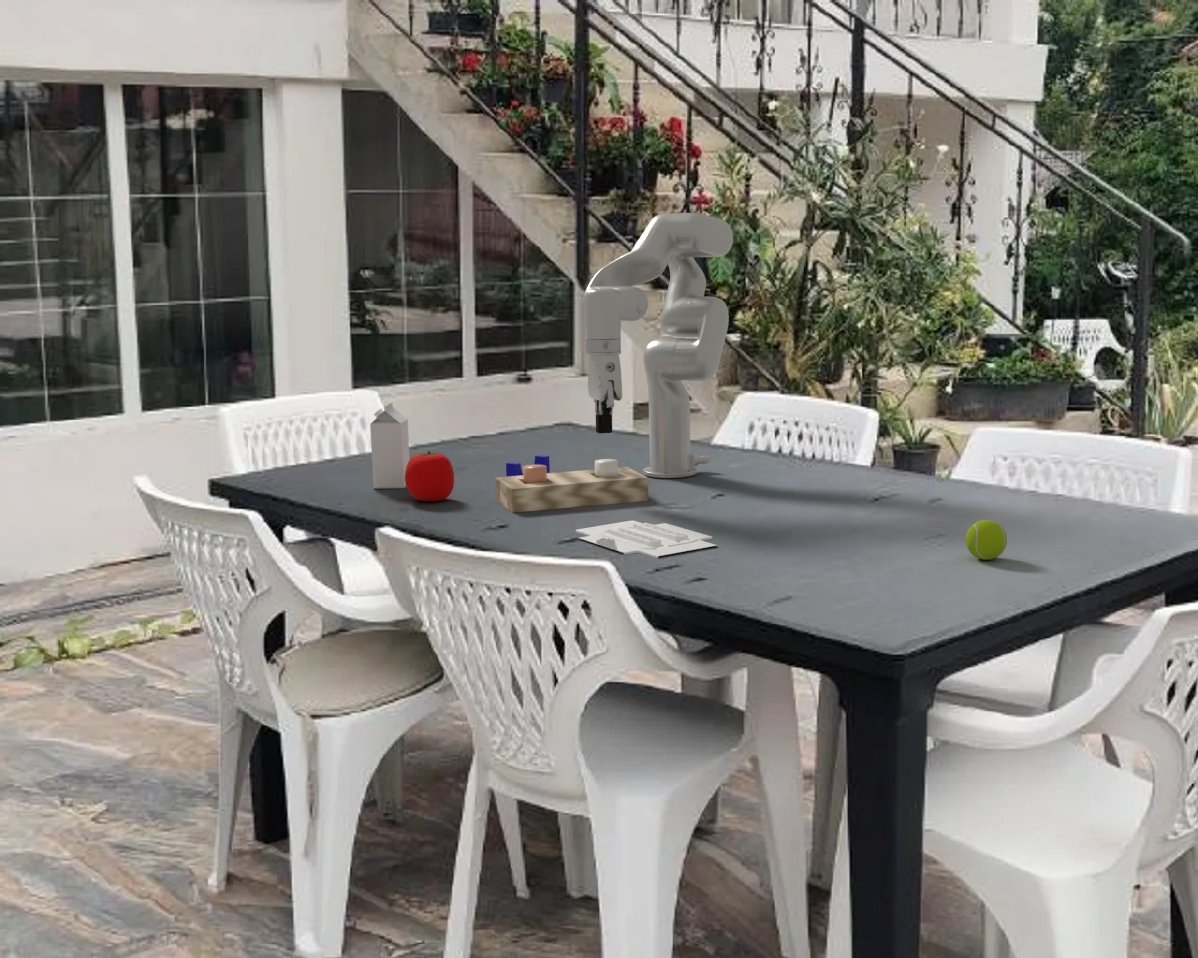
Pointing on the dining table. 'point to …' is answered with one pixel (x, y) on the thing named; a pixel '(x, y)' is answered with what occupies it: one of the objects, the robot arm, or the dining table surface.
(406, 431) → the milk carton
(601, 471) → the white domed cylinder
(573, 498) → the housing
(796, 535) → the dining table surface
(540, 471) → the peach rounded piece
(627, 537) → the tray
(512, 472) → the cable clip
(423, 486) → the tomato
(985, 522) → the tennis ball
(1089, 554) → the dining table surface
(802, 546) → the dining table surface
